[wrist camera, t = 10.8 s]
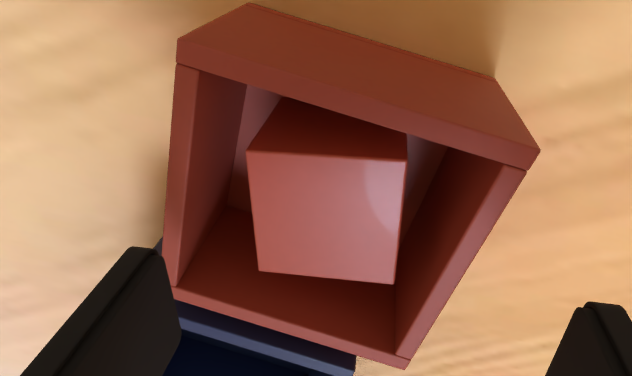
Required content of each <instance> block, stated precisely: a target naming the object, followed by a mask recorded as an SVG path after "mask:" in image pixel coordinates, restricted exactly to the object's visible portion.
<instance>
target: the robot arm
mask: <svg viewBox="0 0 632 376" xmlns="http://www.w3.org/2000/svg"><path fill="white" fill-rule="evenodd" d="M180 340H181V326H180V322H179V318H178V314H177V310H176V305H175V301H174V297H173V293H172V289H171V284H170V280H169V276H168V272H167V268H166V264H165V260H164V258H163V256H159V254H158V251H157V250H156V249H150V248H142V247H133V246H132V247H130V248H128V249H127V250H126V251H125V253H124V254H123V255H122V256H121V257H120V259H119V260H118V261H117V262H116V263H115V264H114V266H113V267H112V268H111V269H110V270H109V271H108V273H107V274H106V275H105V276H104V277H103V279H102V280H101V281H100V282H99V283H98V284H97V286H96V287H95V288H94V289H93V290H92V292H91V293H90V294H89V295H88V296H87V297H86V299H85V300H84V301H83V302H82V303H81V304H80V306H79V307H78V308H77V309H76V310H75V311H74V313H73V314H72V315H71V316H70V317H69V319H68V320H67V321H66V322H65V323H64V324H63V326H62V327H61V328H60V329H59V330H58V332H57V333H56V334H55V335H54V336H53V337H52V339H51V340H50V341H49V342H48V343H47V344H46V346H45V347H44V348H43V349H42V350H41V352H40V353H39V354H38V355H37V356H36V357H35V359H34V360H33V361H32V362H31V363H30V365H29V366H28V367H27V368H26V369H25V370H24V372H23V373H22V374H21V375H20V376H162V375H163V373H164V371H165V370H166V368H167V366H168V364H169V362H170V360H171V358H172V356H173V355H174V353H175V351H176V349H177V347H178V345H179V343H180ZM545 376H632V321H631V319H630V318H629V316H628V314H627V312H626V311H625V310H624V308H623V307H621V306H620V305H614V304H606V303H598V302H587V303H586V304H585V305H584V307H583V308H581V307H578V308H576V310H575V311H574V313H573V316H572V318H571V320H570V322H569V324H568V327H567V329H566V331H565V333H564V335H563V338H562V340H561V342H560V344H559V346H558V349H557V351H556V353H555V355H554V357H553V360H552V362H551V364H550V366H549V368H548V371H547V373H546V375H545Z"/></svg>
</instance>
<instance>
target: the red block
mask: <svg viewBox="0 0 632 376" xmlns="http://www.w3.org/2000/svg"><path fill="white" fill-rule="evenodd" d="M245 154H246V163H247V172H248V181H249V190H250V199H251V208H252V217H253V226H254V235H255V244H256V253H257V262H258V270H259V271H264V272H274V273H283V274H293V275H303V276H313V277H323V278H332V279H342V280H352V281H362V282H372V283H381V284H391V285H392V284H394V283H395V276H396V267H397V258H398V249H399V239H400V230H401V221H402V212H403V203H404V193H405V184H406V175H407V166H408V151H407V133H403V132H400V131H397V130H394V129H390V128H387V127H384V126H381V125H377V124H374V123H371V122H368V121H364V120H361V119H358V118H355V117H351V116H348V115H345V114H342V113H338V112H335V111H332V110H329V109H325V108H322V107H319V106H316V105H312V104H309V103H306V102H303V101H299V100H296V99H293V98H290V97H282V98H281V99H280V100H279V102H278V103H277V105H276V106H275V108H274V109H273V111H272V112H271V113H270V115H269V116H268V118H267V119H266V121H265V122H264V124H263V125H262V127H261V128H260V130H259V131H258V133H257V134H256V136H255V137H254V138H253V140H252V141H251V143H250V144H249V146H248V147H247V149H246V151H245Z"/></svg>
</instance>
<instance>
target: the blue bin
mask: <svg viewBox="0 0 632 376" xmlns="http://www.w3.org/2000/svg"><path fill="white" fill-rule="evenodd" d="M162 243H163V236H162V238H161V239H160V240H159V242H158V243H157V244H156V246H155V247H154V248H153V249H156V250H157V251H158V254H159V256H162ZM174 301H175V305H176V310H177V314H178V318H179V322H180V326H181V340H180V343H179V345H178V347H177V349H176V351H175V353H174V355H173V356H172V358H171V360H170V362H169V364H168V366H167V368H166V370H165V371H164V373H163V375H162V376H353V374H354V372H355V365H356V355H354V354H351V353H347V352H344V351H341V350H338V349H334V348H331V347H328V346H325V345H321V344H318V343H315V342H312V341H309V340H305V339H302V338H299V337H296V336H292V335H289V334H286V333H283V332H279V331H276V330H273V329H270V328H266V327H263V326H260V325H257V324H254V323H250V322H247V321H244V320H241V319H237V318H234V317H231V316H228V315H224V314H221V313H218V312H215V311H211V310H208V309H205V308H202V307H199V306H195V305H192V304H189V303H186V302H182V301H179V300H176V299H174Z"/></svg>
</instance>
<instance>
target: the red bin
mask: <svg viewBox="0 0 632 376" xmlns="http://www.w3.org/2000/svg"><path fill="white" fill-rule="evenodd" d="M176 62H177V64H176V69H175V82H174V95H173V109H172V122H171V136H170V149H169V162H168V176H167V189H166V203H165V216H164V230H163V243H162V256H163V258H164V260H165V264H166V268H167V272H168V276H169V280H170V284H171V289H172V293H173V297H174V299H176V300H179V301H182V302H186V303H189V304H192V305H195V306H199V307H202V308H205V309H208V310H211V311H215V312H218V313H221V314H224V315H228V316H231V317H234V318H237V319H241V320H244V321H247V322H250V323H254V324H257V325H260V326H263V327H266V328H270V329H273V330H276V331H279V332H283V333H286V334H289V335H292V336H296V337H299V338H302V339H305V340H309V341H312V342H315V343H318V344H321V345H325V346H328V347H331V348H334V349H338V350H341V351H344V352H347V353H351V354H354V355H357V356H360V357H363V358H367V359H370V360H373V361H376V362H380V363H383V364H386V365H389V366H393V367H396V368H399V369H402V370H405V369H406V367H407V366H408V364H409V362H410V361H411V359H412V357H413V356H414V354H415V353H416V351H417V349H418V348H419V346H420V345H421V343H422V341H423V340H424V338H425V336H426V335H427V333H428V332H429V330H430V328H431V327H432V325H433V324H434V322H435V320H436V319H437V317H438V315H439V314H440V312H441V311H442V309H443V307H444V306H445V304H446V303H447V301H448V299H449V298H450V296H451V294H452V293H453V291H454V290H455V288H456V286H457V285H458V283H459V282H460V280H461V278H462V277H463V275H464V273H465V272H466V270H467V269H468V267H469V265H470V264H471V262H472V261H473V259H474V257H475V256H476V254H477V253H478V251H479V249H480V248H481V246H482V244H483V243H484V241H485V240H486V238H487V236H488V235H489V233H490V232H491V230H492V228H493V227H494V225H495V223H496V222H497V220H498V219H499V217H500V215H501V214H502V212H503V211H504V209H505V207H506V206H507V204H508V202H509V201H510V199H511V198H512V196H513V194H514V193H515V191H516V190H517V188H518V186H519V185H520V183H521V181H522V180H523V178H524V177H525V175H526V172H527V171H526V170H529V169H530V167H531V166H532V164H533V163H534V161H535V159H536V158H537V156H538V154H539V153H540V148H539V146H538V145H537V143H536V142H535V140H534V139H533V137H532V135H531V134H530V132H529V131H528V129H527V128H526V126H525V125H524V123H523V121H522V120H521V118H520V117H519V115H518V114H517V112H516V110H515V109H514V107H513V106H512V104H511V103H510V101H509V99H508V98H507V96H506V95H505V93H504V92H503V90H502V88H501V87H500V85H499V84H498V82H497V81H496V79H495V78H493V77H489V76H486V75H483V74H480V73H476V72H473V71H470V70H466V69H463V68H460V67H457V66H453V65H450V64H447V63H444V62H440V61H437V60H434V59H431V58H427V57H424V56H421V55H418V54H414V53H411V52H408V51H405V50H401V49H398V48H395V47H392V46H388V45H385V44H382V43H379V42H375V41H372V40H369V39H366V38H362V37H359V36H356V35H353V34H349V33H346V32H343V31H340V30H336V29H333V28H330V27H327V26H323V25H320V24H317V23H313V22H310V21H307V20H304V19H300V18H297V17H294V16H291V15H287V14H284V13H281V12H278V11H274V10H271V9H268V8H265V7H261V6H258V5H255V4H252V3H246V4H244V5H242V6H240V7H238V8H236V9H234V10H232V11H231V12H229V13H227V14H225V15H223V16H221V17H219V18H217V19H215V20H213V21H211V22H209V23H207V24H205V25H203V26H201V27H199V28H197V29H195V30H193V31H191V32H189V33H187V34H185V35H184V36H182V37H180V38H178V40H177V52H176ZM282 97H290V98H293V99H296V100H299V101H303V102H306V103H309V104H312V105H316V106H319V107H322V108H325V109H329V110H332V111H335V112H338V113H342V114H345V115H348V116H351V117H355V118H358V119H361V120H364V121H368V122H371V123H374V124H377V125H381V126H384V127H387V128H390V129H394V130H397V131H400V132H403V133H407V151H408V166H407V175H406V184H405V193H404V203H403V212H402V221H401V230H400V239H399V249H398V258H397V267H396V276H395V283H394V284H392V285H391V284H381V283H372V282H362V281H352V280H342V279H332V278H323V277H313V276H303V275H293V274H283V273H274V272H264V271H259V270H258V262H257V253H256V244H255V235H254V226H253V217H252V208H251V199H250V190H249V181H248V172H247V163H246V154H245V151H246V149H247V147H248V146H249V144H250V143H251V141H252V140H253V138H254V137H255V136H256V134H257V133H258V131H259V130H260V128H261V127H262V125H263V124H264V122H265V121H266V119H267V118H268V116H269V115H270V113H271V112H272V111H273V109H274V108H275V106H276V105H277V103H278V102H279V100H280V99H281V98H282Z"/></svg>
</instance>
